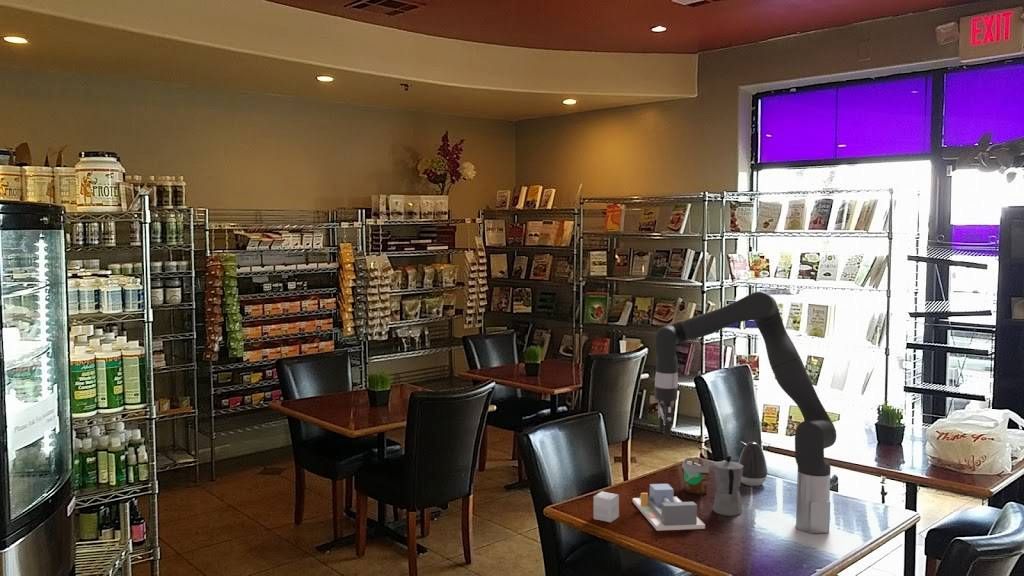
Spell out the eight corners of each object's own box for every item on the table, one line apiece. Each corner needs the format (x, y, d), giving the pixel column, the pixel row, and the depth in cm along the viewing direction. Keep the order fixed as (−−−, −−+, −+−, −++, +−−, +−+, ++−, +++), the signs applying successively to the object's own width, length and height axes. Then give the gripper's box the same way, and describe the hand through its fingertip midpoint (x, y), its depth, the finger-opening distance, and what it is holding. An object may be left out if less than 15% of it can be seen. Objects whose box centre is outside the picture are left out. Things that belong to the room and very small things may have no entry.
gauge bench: (705, 528, 238) (705, 505, 238) (656, 530, 237) (657, 507, 236) (676, 500, 264) (676, 478, 264) (632, 501, 262) (633, 480, 262)
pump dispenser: (747, 477, 289) (748, 436, 288) (772, 484, 281) (773, 442, 280) (730, 483, 283) (731, 441, 282) (756, 490, 275) (757, 447, 274)
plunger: (678, 511, 249) (678, 494, 248) (646, 512, 247) (647, 495, 247) (667, 500, 260) (667, 483, 259) (637, 501, 258) (637, 484, 258)
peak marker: (647, 505, 254) (647, 493, 254) (641, 506, 254) (641, 493, 253) (646, 504, 255) (646, 492, 255) (640, 505, 255) (640, 492, 254)
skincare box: (619, 517, 248) (619, 494, 247) (610, 523, 243) (610, 499, 242) (601, 513, 251) (602, 490, 251) (592, 519, 246) (593, 495, 246)
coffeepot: (710, 503, 261) (711, 449, 260) (739, 505, 260) (741, 451, 259) (715, 519, 246) (716, 462, 245) (746, 521, 245) (747, 464, 243)
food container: (674, 486, 279) (675, 458, 278) (690, 484, 281) (690, 456, 280) (692, 497, 267) (693, 468, 267) (708, 495, 269) (709, 466, 269)
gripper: (682, 389, 258) (680, 438, 259) (673, 381, 272) (671, 427, 274) (658, 389, 258) (657, 438, 259) (651, 380, 272) (649, 427, 274)
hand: (664, 432), depth 266 cm, fingers open, 8 cm apart
